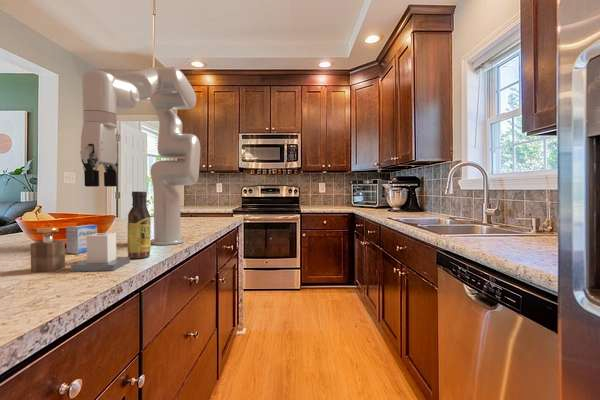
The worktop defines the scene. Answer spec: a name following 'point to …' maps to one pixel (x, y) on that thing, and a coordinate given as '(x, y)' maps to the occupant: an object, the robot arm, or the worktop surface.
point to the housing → (101, 247)
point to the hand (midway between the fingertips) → (101, 186)
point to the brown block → (47, 256)
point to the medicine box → (78, 238)
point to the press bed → (101, 265)
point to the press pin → (47, 233)
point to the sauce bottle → (139, 227)
